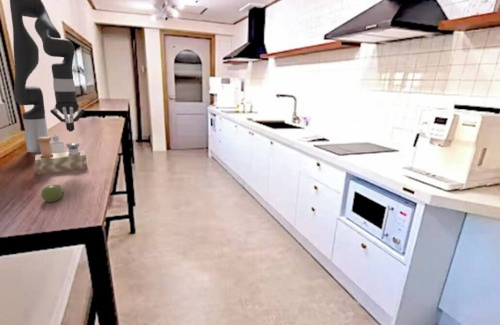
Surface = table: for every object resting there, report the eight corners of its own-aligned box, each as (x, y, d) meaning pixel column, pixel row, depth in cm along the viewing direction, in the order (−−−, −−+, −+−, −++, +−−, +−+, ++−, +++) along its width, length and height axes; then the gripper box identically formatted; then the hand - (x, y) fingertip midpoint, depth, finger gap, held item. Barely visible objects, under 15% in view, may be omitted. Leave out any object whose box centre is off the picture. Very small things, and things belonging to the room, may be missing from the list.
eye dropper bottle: (64, 158, 141) (60, 134, 137) (50, 158, 139) (46, 134, 135) (66, 155, 145) (62, 132, 141) (53, 156, 143) (49, 132, 139)
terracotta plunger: (40, 163, 119) (36, 139, 116) (41, 160, 123) (37, 137, 120) (54, 161, 121) (50, 138, 119) (54, 158, 125) (50, 136, 122)
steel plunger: (70, 168, 125) (66, 145, 122) (69, 165, 129) (66, 143, 126) (82, 166, 128) (79, 144, 125) (81, 163, 132) (78, 142, 129)
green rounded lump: (37, 188, 89) (46, 182, 98) (40, 204, 90) (48, 197, 99) (58, 186, 91) (65, 181, 100) (60, 202, 92) (67, 195, 101)
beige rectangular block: (37, 174, 117) (34, 160, 116) (38, 168, 125) (35, 155, 123) (87, 168, 127) (85, 154, 125) (85, 162, 134) (83, 150, 133)
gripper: (82, 89, 125) (87, 128, 131) (45, 89, 118) (52, 130, 123) (84, 90, 120) (89, 131, 125) (45, 90, 112) (52, 134, 117)
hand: (70, 131), depth 124 cm, fingers closed
